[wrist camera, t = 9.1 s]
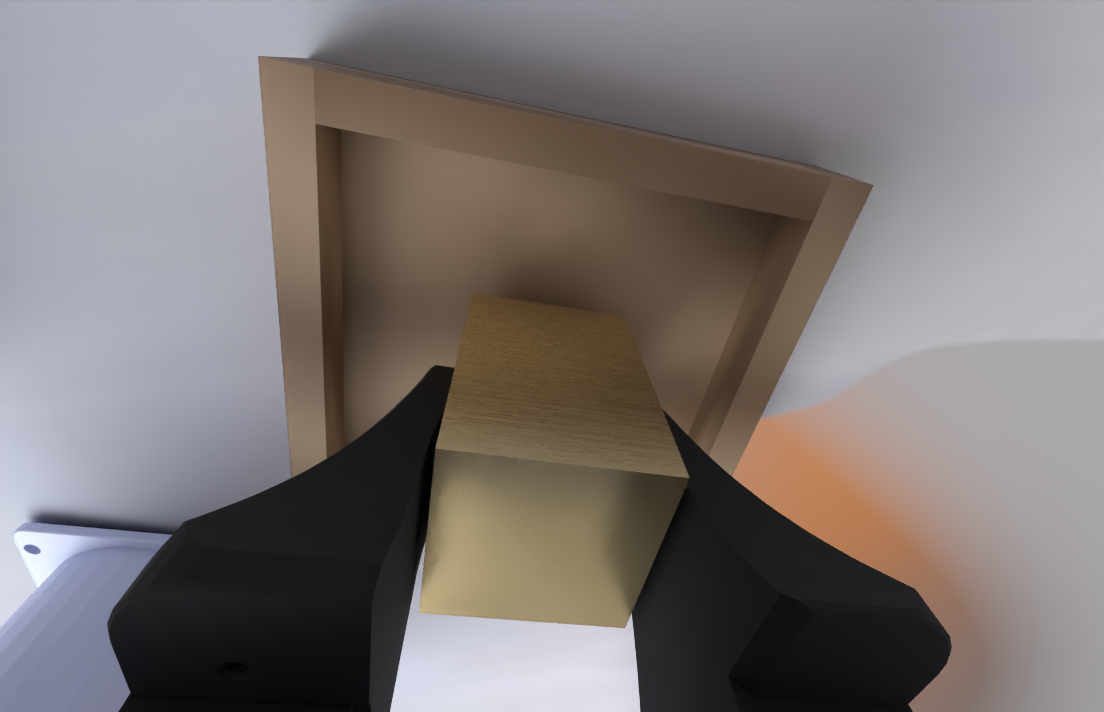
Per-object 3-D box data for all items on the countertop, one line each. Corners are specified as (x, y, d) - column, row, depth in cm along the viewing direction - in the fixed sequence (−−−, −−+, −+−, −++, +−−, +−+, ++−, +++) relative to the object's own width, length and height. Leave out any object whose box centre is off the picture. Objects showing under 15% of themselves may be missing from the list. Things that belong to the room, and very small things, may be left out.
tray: (670, 513, 20) (687, 566, 17) (322, 476, 18) (295, 529, 16) (819, 166, 13) (873, 185, 11) (305, 58, 12) (257, 56, 10)
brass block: (590, 435, 15) (624, 628, 10) (457, 418, 15) (418, 613, 9) (625, 316, 13) (689, 478, 8) (472, 292, 13) (435, 448, 7)
